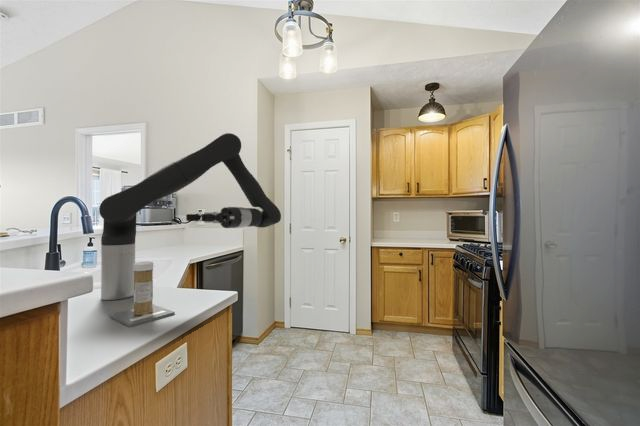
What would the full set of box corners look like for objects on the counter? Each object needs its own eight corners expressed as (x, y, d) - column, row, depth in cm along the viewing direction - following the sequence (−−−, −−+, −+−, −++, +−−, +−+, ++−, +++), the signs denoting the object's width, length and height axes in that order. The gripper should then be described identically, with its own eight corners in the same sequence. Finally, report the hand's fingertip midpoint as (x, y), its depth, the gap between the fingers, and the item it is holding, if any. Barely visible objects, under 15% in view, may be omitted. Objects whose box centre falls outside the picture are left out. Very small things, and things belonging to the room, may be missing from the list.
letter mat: (109, 317, 76) (109, 314, 76) (152, 306, 85) (152, 303, 85) (129, 327, 69) (129, 324, 70) (174, 314, 78) (174, 311, 79)
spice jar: (138, 310, 80) (138, 261, 80) (156, 309, 80) (156, 260, 80) (129, 316, 75) (129, 264, 75) (148, 315, 75) (148, 263, 76)
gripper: (223, 207, 109) (182, 206, 96) (249, 206, 101) (207, 205, 88) (223, 227, 109) (181, 228, 96) (249, 228, 101) (207, 230, 88)
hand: (194, 217), depth 92 cm, fingers open, 8 cm apart
